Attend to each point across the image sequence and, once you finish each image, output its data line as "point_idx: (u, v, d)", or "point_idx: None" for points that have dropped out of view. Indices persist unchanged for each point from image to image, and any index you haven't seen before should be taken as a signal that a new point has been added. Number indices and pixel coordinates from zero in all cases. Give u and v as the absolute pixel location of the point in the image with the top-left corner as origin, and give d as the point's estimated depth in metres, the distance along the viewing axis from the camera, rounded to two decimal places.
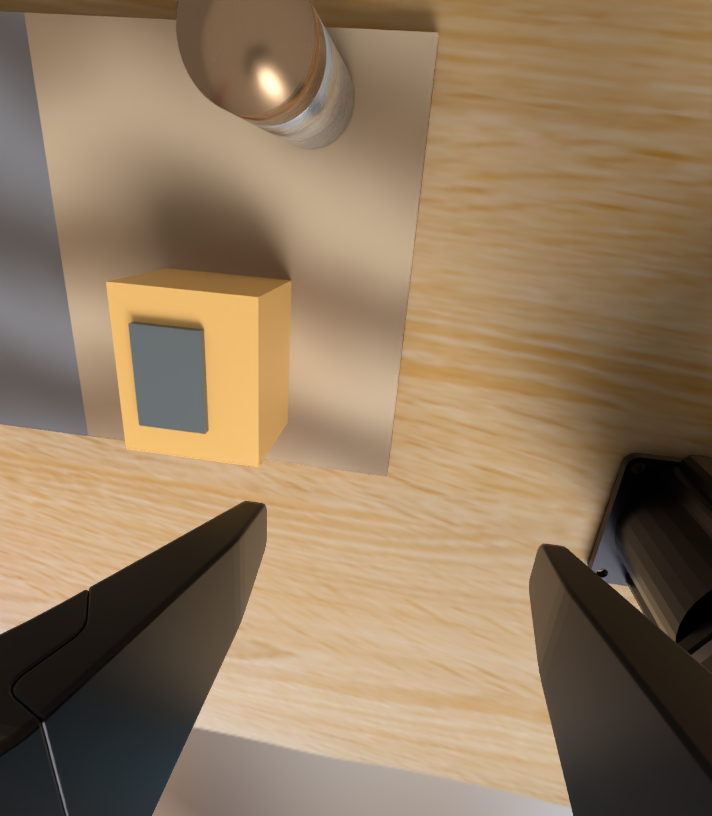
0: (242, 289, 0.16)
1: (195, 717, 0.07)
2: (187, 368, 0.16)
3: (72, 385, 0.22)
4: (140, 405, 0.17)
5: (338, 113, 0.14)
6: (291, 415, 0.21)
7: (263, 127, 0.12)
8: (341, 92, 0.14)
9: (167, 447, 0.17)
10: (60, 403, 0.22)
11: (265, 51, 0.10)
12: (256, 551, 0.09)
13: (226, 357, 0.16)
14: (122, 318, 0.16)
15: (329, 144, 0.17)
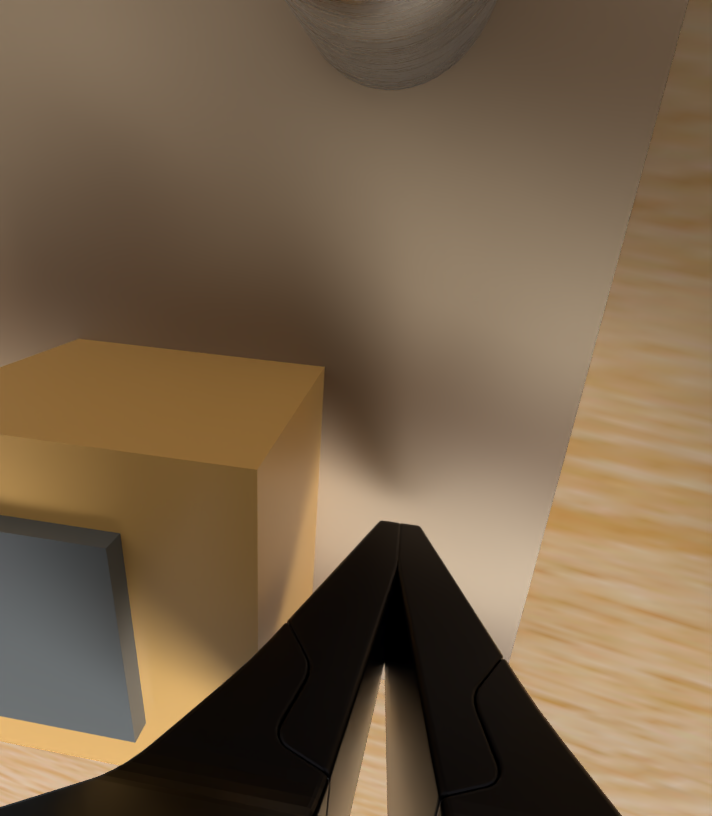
0: (219, 423, 0.07)
1: (364, 748, 0.07)
2: (82, 621, 0.06)
3: None
4: None
5: None
6: None
7: None
8: None
9: (60, 742, 0.08)
10: None
11: None
12: None
13: (179, 593, 0.06)
14: None
15: (435, 76, 0.07)
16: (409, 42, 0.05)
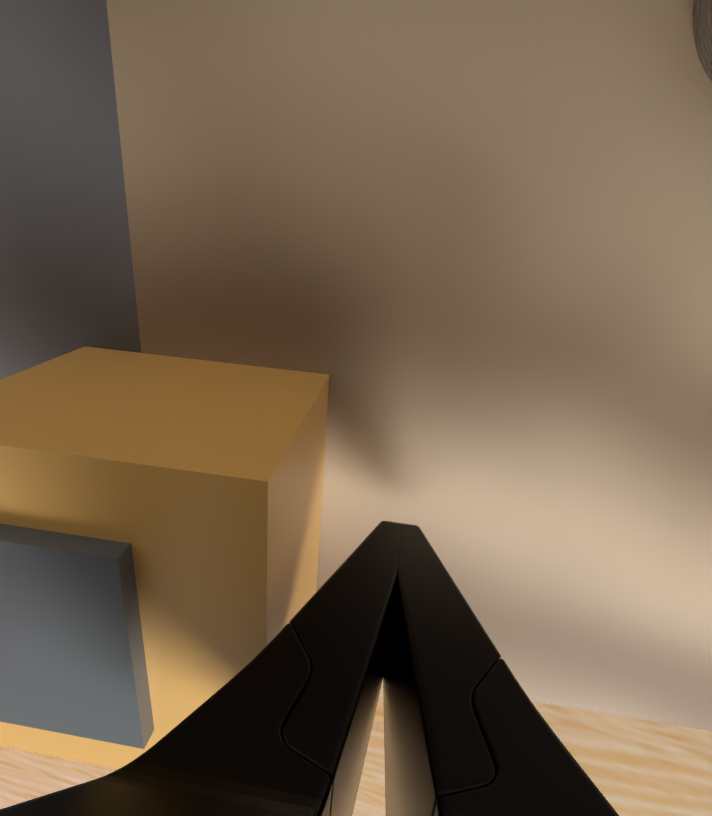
0: (227, 434, 0.07)
1: (366, 748, 0.07)
2: (93, 630, 0.06)
3: None
4: None
5: None
6: (572, 632, 0.11)
7: None
8: None
9: (68, 748, 0.08)
10: None
11: None
12: None
13: (188, 602, 0.06)
14: None
15: None
16: None
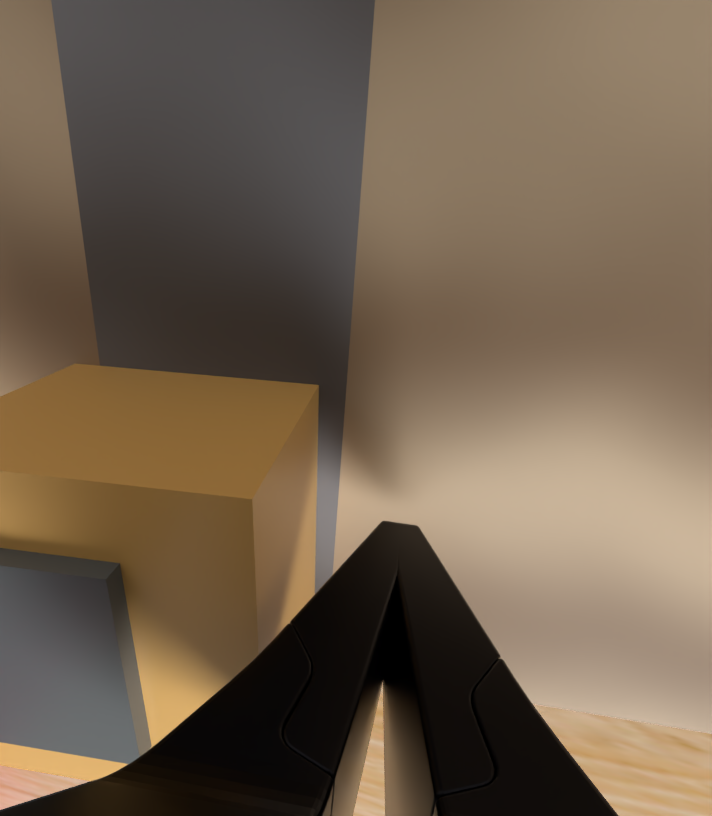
0: (214, 450, 0.07)
1: None
2: (85, 650, 0.06)
3: None
4: None
5: None
6: None
7: None
8: None
9: (68, 766, 0.08)
10: None
11: None
12: None
13: (179, 620, 0.06)
14: None
15: None
16: None
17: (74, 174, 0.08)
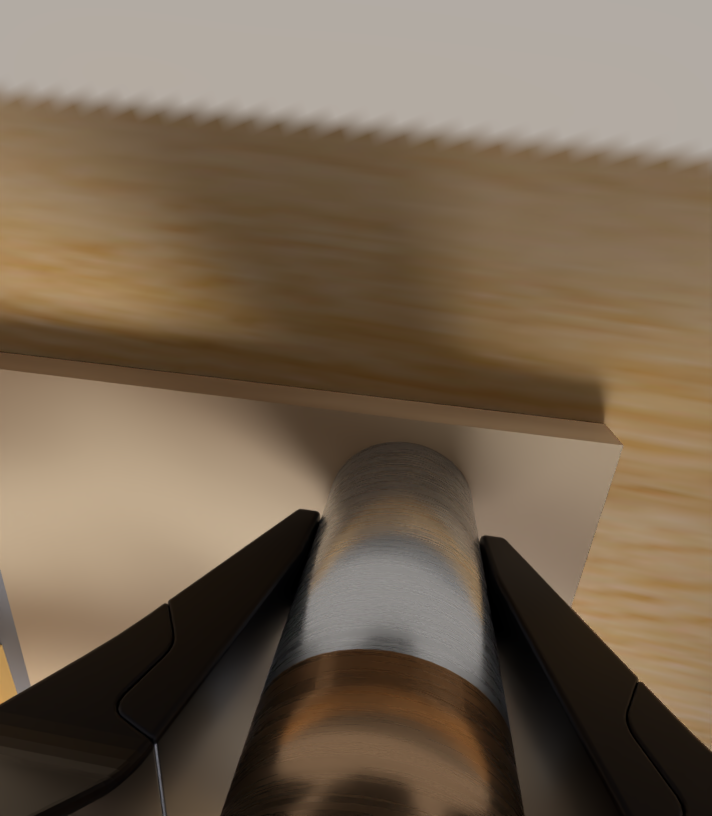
0: None
1: None
2: None
3: None
4: None
5: None
6: None
7: None
8: None
9: None
10: None
11: None
12: None
13: None
14: None
15: None
16: None
17: None
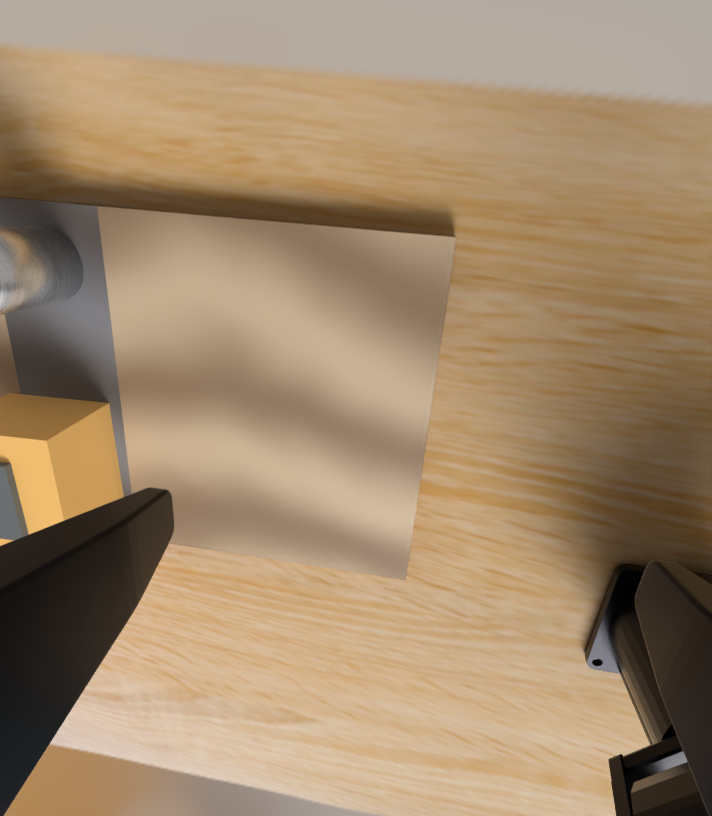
0: (45, 427, 0.20)
1: (77, 694, 0.07)
2: (0, 493, 0.19)
3: None
4: None
5: (46, 290, 0.18)
6: (321, 528, 0.23)
7: None
8: (37, 280, 0.18)
9: None
10: None
11: None
12: (157, 536, 0.09)
13: (31, 483, 0.19)
14: None
15: (70, 297, 0.20)
16: (27, 308, 0.19)
17: (6, 320, 0.21)
